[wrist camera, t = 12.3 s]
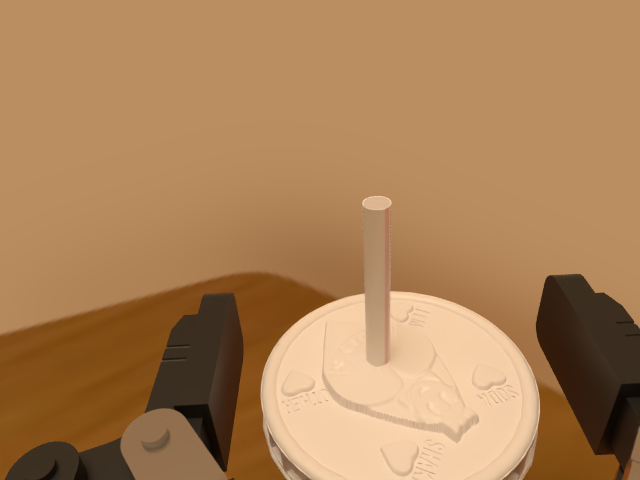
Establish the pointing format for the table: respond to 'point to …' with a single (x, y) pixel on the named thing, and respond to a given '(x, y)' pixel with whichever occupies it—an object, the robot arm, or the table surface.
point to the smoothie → (397, 386)
